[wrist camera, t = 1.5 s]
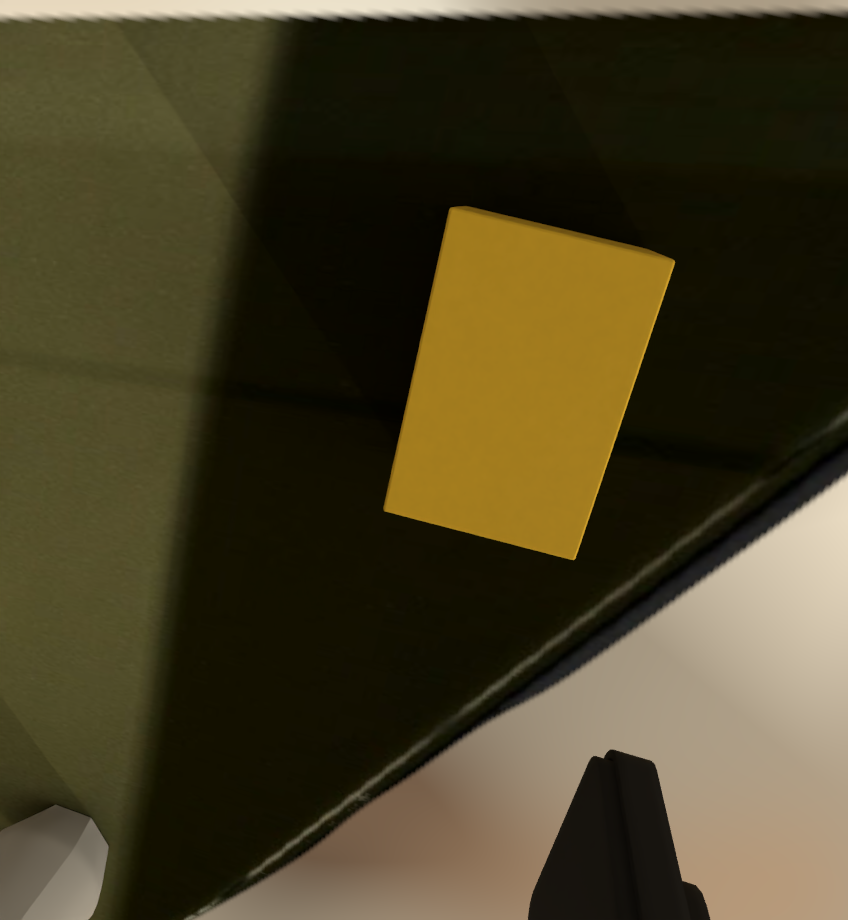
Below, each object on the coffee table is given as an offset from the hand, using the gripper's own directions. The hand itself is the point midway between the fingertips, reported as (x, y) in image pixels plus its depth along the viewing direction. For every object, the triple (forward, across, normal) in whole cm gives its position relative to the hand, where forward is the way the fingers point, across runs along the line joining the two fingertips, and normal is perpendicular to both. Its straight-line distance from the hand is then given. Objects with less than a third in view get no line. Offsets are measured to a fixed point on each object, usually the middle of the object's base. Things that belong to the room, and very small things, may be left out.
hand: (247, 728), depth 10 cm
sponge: (+17, -3, -2) cm, 17 cm away
